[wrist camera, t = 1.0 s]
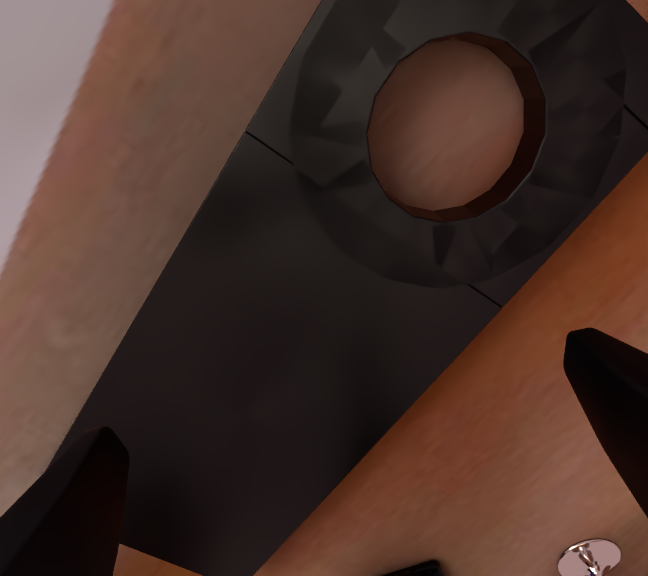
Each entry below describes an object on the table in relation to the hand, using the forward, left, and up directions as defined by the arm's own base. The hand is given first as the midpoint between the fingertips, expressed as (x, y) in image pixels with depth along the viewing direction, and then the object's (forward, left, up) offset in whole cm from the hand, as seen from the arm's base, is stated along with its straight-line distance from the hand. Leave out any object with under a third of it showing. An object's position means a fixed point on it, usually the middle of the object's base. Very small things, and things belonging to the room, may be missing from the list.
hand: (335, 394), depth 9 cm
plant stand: (-5, +3, -13) cm, 15 cm away
